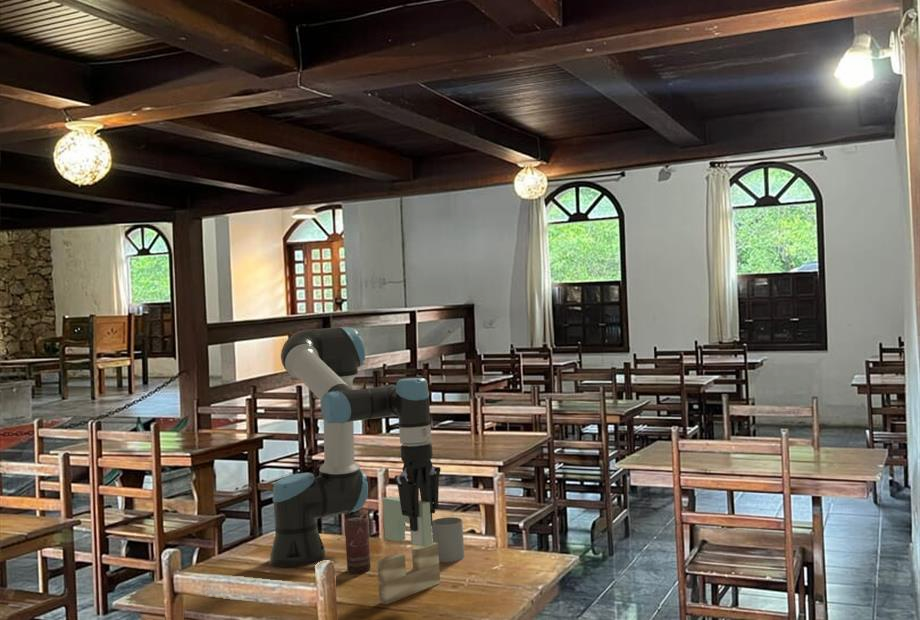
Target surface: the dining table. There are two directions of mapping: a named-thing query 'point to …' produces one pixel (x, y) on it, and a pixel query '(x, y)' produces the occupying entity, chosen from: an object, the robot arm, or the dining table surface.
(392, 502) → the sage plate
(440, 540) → the cup
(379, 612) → the dining table surface
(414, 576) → the birch plate
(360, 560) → the can
